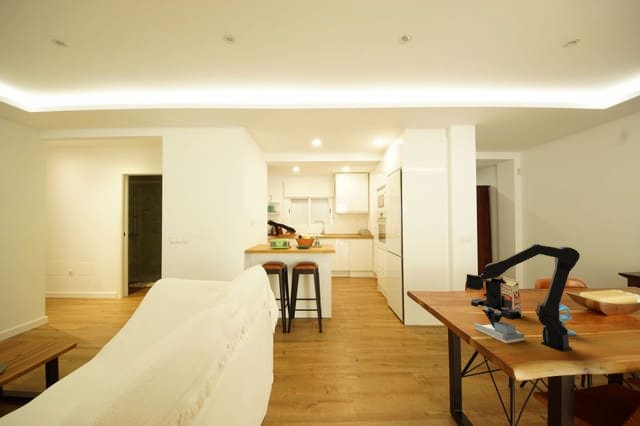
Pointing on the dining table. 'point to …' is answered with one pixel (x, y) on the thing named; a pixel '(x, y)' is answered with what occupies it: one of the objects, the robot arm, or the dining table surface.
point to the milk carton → (512, 294)
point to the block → (505, 328)
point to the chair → (565, 317)
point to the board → (499, 334)
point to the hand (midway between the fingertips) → (494, 328)
